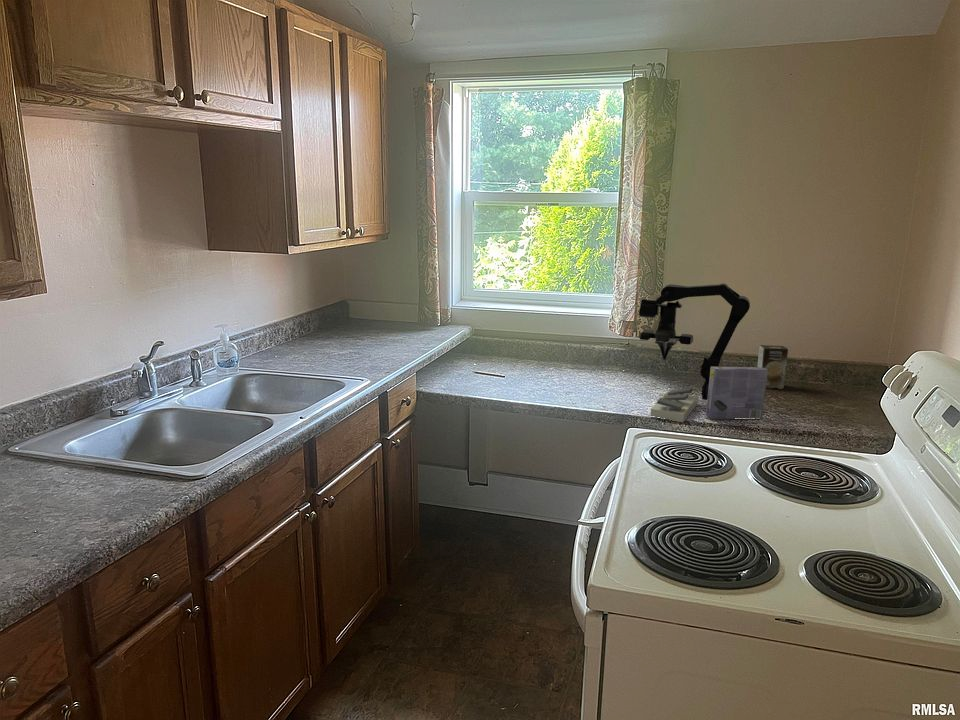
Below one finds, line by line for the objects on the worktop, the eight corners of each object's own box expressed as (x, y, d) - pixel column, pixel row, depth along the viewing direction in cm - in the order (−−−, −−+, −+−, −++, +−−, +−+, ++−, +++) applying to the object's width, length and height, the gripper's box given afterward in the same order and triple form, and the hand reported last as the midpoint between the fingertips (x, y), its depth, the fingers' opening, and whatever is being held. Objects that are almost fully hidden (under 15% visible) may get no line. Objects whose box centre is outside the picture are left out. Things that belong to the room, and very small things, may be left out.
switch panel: (696, 404, 248) (697, 392, 247) (683, 422, 228) (684, 409, 227) (666, 399, 253) (667, 388, 252) (650, 417, 233) (651, 404, 232)
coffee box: (759, 388, 268) (763, 348, 264) (754, 383, 275) (758, 344, 271) (783, 389, 267) (788, 349, 264) (778, 384, 274) (783, 345, 270)
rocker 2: (688, 396, 240) (687, 394, 239) (685, 399, 236) (685, 397, 236) (665, 398, 244) (664, 395, 243) (662, 401, 240) (662, 398, 240)
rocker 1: (692, 390, 246) (692, 387, 246) (690, 393, 243) (689, 390, 243) (670, 393, 250) (669, 390, 250) (667, 396, 247) (667, 393, 247)
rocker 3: (682, 406, 233) (683, 404, 233) (680, 410, 230) (680, 407, 229) (659, 400, 236) (660, 397, 236) (656, 403, 233) (657, 400, 233)
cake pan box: (759, 415, 236) (765, 365, 232) (766, 420, 231) (771, 369, 227) (704, 415, 236) (709, 365, 231) (709, 420, 231) (714, 369, 226)
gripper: (637, 320, 252) (634, 361, 256) (688, 324, 244) (685, 367, 248) (644, 315, 262) (642, 355, 266) (695, 319, 254) (691, 360, 257)
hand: (664, 359), depth 259 cm, fingers closed
